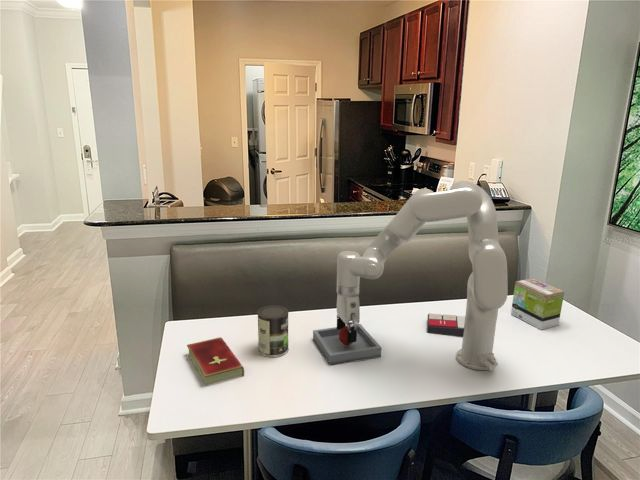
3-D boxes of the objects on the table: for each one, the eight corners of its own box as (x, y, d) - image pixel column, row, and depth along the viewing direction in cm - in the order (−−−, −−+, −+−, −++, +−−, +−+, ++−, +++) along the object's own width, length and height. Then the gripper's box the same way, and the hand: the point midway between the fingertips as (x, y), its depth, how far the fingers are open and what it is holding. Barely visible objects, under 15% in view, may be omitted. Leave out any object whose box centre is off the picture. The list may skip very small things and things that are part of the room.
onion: (348, 351, 155) (350, 330, 153) (334, 345, 159) (335, 324, 156) (358, 344, 160) (359, 323, 157) (344, 339, 163) (345, 318, 161)
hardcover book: (222, 347, 160) (222, 335, 159) (244, 377, 142) (243, 365, 141) (187, 355, 154) (186, 344, 153) (205, 388, 137) (204, 375, 136)
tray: (381, 356, 154) (381, 347, 153) (329, 365, 149) (330, 355, 148) (359, 332, 171) (360, 323, 170) (312, 339, 165) (313, 330, 164)
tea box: (509, 314, 188) (514, 280, 183) (527, 310, 192) (532, 277, 188) (540, 330, 174) (546, 294, 170) (559, 326, 179) (565, 290, 174)
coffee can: (292, 344, 162) (292, 306, 158) (283, 359, 152) (283, 319, 148) (263, 340, 164) (262, 303, 160) (253, 355, 154) (252, 316, 150)
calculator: (427, 312, 181) (468, 314, 177) (427, 322, 182) (467, 325, 178) (427, 324, 171) (470, 327, 167) (427, 335, 172) (469, 338, 168)
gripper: (369, 297, 147) (366, 345, 152) (348, 278, 163) (347, 322, 167) (346, 299, 145) (345, 349, 149) (328, 280, 160) (327, 325, 165)
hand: (346, 335), depth 158 cm, fingers open, 9 cm apart
